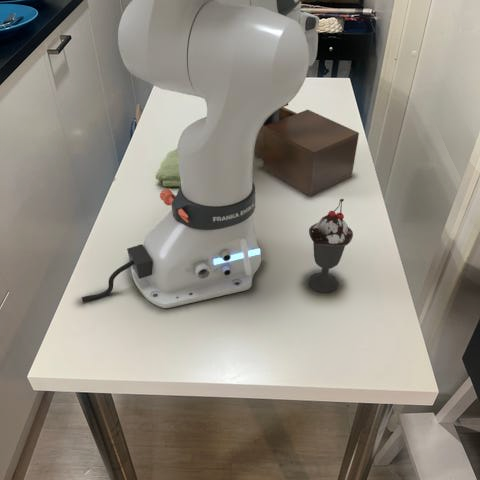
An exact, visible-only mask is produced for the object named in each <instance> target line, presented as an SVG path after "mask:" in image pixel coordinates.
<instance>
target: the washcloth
mask: <svg viewBox="0 0 480 480" xmlns="http://www.w3.org/2000/svg"><path fill="white" fill-rule="evenodd" d="M155 179H156V180H157V181H160V182H161V181H162V186H163V187H168V188H169V187H171V188H172V187H180V185H181V180H180V171H179V162H178V152H177V149H174V150H171V151H169V152H168V153H166V156H165V158H164V159H163V161H162V162H160V168H159V170H158V171H157V172H156V173H155Z"/></svg>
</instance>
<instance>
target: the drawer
mask: <svg viewBox="0 0 480 480" xmlns="http://www.w3.org/2000/svg"><path fill="white" fill-rule="evenodd" d="M295 114H297V112H295V111H294V110H291V109H289V108H286V106H285V107H282V108H280V109H278V110H277V111H275V112H274V113H273V114H272V115H271V116H270V117H269V118H268V119H267V120H266V121H265V122H264V124H263V125H262V127H261V129H260V131H259V133H258V136H257V139H256V143H255V149H254V156H257V157H258V158H259V159H261V160H263V144H264V126H266V125H268V124H271V123H274V122H276V121H279V120H282V119H284V118H287V117H289V116H292V115H295Z"/></svg>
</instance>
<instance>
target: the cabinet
mask: <svg viewBox="0 0 480 480" xmlns="http://www.w3.org/2000/svg"><path fill="white" fill-rule="evenodd" d="M296 113H297V112H296ZM359 135H360V132H358V131H357V130H354V129H352V128H349V127H347V126H346V125H342V124H341V123H338V122H337V121H334V120H332V119H330V118H328V117H326V116H324V115H321V114H319V113H316V112H315V111H312V110H310V109H305V110H302V111H300V112H298V113H297V114H295V115H292V116H289V117H287V118H284V119H282V120H279V121H276V122H274V123H271V124H268V125H266V126H264V144H263V159H262V169H263V170H264V171H266V172H267V173H269V174H271V175H272V176H274V177H276V178H277V179H279V180H281V181H282V182H284V183H286V184H288V185H290V186H291V187H293V188H295V189H296V190H298V191H300V192H302V193H303V194H305V195H307V196H308V197H311V196H314V195H316V194H318V193H320V192H322V191H324V190H326V189H328V188H331V187H333V186H335V185H336V184H338V183H340V182H342V181H345V180H346V179H349V178H350V177H352V176H353V172H354V171H353V170H354V166H355V160H356V155H357V154H356V153H357V147H358V143H359Z"/></svg>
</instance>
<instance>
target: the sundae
mask: <svg viewBox="0 0 480 480" xmlns="http://www.w3.org/2000/svg"><path fill="white" fill-rule="evenodd" d="M344 201H345V199H344V198H340V199H339V203H338V206H337V207H336V208H335V209H334V210H330V211H328V212H327V215H324V216H323V217H322V218H320V220H319V221H318V222H316V223H314V224H313V225H311V226H310V227H309V229H308V235H309V237H310V239H311V241H312V242H313V243H312V244H313V259H314V262H315V264H316V266H318V267H319V268H321V271H320V272H315V273H313V274H311V275H310V277H309V279H308V285H309V286H310V288H312V289H313V290H314V291H316V292H319V293H331V292H334V291H335V290H336V289H337V288H338V287H339V279H338V278H337V277H336V276H335V275H334V274H332V273H329V270H330V269H334V268H335V267H337V266H338V265H339V263H340V261H341V259H342V257H343V253H344V251H345V247H346V246H347V245H349V244H350V243H351V241H352V240H353V237H354V233H353V230H352V228H350V227H349V226H348V224H347V222H346V221H345V220H344V218H345V216H344V215H345V214H344V213H343V212H342V205H343V202H344ZM339 207H340V209H339ZM338 209H339V211H340V212H336V211H337V210H338Z"/></svg>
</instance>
